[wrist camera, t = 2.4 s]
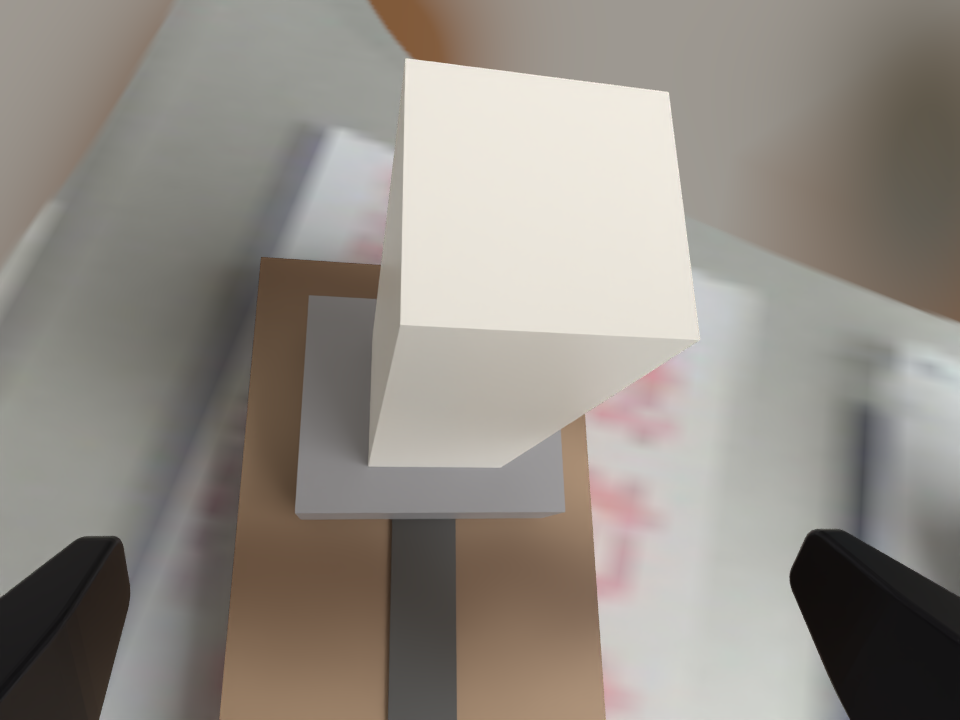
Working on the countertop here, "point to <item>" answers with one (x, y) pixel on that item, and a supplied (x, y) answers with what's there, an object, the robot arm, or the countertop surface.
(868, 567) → the robot arm
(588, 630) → the brown slider track board
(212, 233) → the countertop surface
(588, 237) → the fader tab
